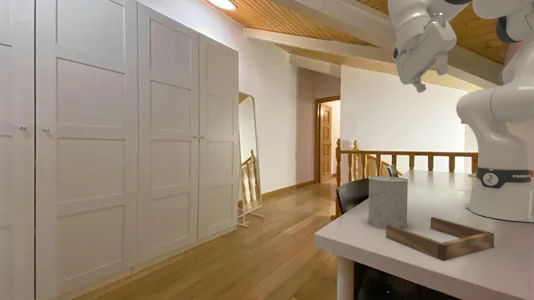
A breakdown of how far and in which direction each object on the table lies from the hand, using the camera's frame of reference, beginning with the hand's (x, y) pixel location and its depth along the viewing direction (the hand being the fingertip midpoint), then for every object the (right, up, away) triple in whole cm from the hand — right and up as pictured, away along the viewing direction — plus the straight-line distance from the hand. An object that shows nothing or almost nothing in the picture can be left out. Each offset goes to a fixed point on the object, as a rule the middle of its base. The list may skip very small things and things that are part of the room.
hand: (432, 83), depth 67 cm
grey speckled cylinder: (-10, -37, +3) cm, 39 cm away
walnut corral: (-5, -38, -10) cm, 39 cm away
